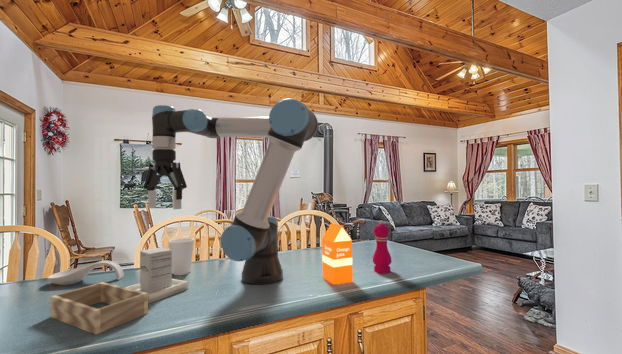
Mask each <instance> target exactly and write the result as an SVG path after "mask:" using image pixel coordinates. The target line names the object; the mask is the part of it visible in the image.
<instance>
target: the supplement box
mask: <svg viewBox="0 0 622 354" xmlns="http://www.w3.org/2000/svg"><path fill="white" fill-rule="evenodd" d="M139 255H140V256H139V283H140V289H142V290H144V291H146V292H147V293H149V294H151V293H154V292H157V291H160V290H163V289H166V288H168V287H171V286H172V279H173V278H172V277H173V275H172V274H173V271H172V250H169V248H165V247H162V246H161V247H154V248H149V249H143V250H140V251H139Z"/></svg>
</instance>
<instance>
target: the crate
mask: <svg viewBox="0 0 622 354" xmlns="http://www.w3.org/2000/svg"><path fill="white" fill-rule="evenodd" d="M99 303H103V304H107V305H105V306H101V307H99V308H96V307H94V306H92V305H95V304H99ZM49 304H50V309H49V310H50V312H49V313H50V315H49V316H50V318H52V319H55V320H56V321H60V322H62V323H65V324H68V325H69V326H73V327H74V328H78V329H80V330H83V331H85V332H87V333H90V334H92V333H93V335H98V334H101V333H103V332H106V331H109V330H110V329H113V328H115V327H118V326H120V325H123V324H125V323H128V322H130V321H132V320H135V319H138V318H140V317H142V316H145V315H147V314H148V313H149V303H148V293H145V292H141V291H137V290H133V289H129V288H125V287H124V286H121V285H116V284H113V283H108V282H103V281H101V282H99V283H95V284H90V285H87V286H83V287H80V288H76V289H72V290H69V291H65V292H62V293H58V294H53V295H50V303H49Z"/></svg>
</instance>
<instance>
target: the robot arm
mask: <svg viewBox="0 0 622 354" xmlns="http://www.w3.org/2000/svg"><path fill="white" fill-rule="evenodd" d="M151 115H152V116H151V123H152V136H151V137H152V139H151V140H152V141H151V142H152V144H151V145H152V160H153V161H154V163H149V164H148V171H147V175H146V177H145V181H144V184H143V189H144V190H146V191H147V208H148V209H157V188H156V187H157V186H158V184H159V182H160V180H161V178H162V177H164V176H165V177H167V178H168V180H169V181H170V183H171V185H172V186H173V189H172V193H173V194H172V196H173V198H172V199H173V201H172V203H173V204H172V208H173V210H181V209H182V199H183V190H184V189H187V187H188V185H187V183H186V179H185V177H184V175H183V172H182V169H181V168H182V167H181V162H180V161H176V159H177V157H176V155H177V154H176V153H177V151H176V150H175V149H176V136H177V135H176V133H177V134H178V133H192V134H193V135H199V136H202V137H207V138H209V139H219V138H268V141H269V143H268V146H267V148H266V151H265V154H264V156H263V158H262V161H261V163H260V166H259V168H258V171H257V173H256V176H255V178H254V181H253V184H252V186H251V188H250V190H249V194H248V196H247V199H246V200H245V203H244V206H243V207H242V210H241V211H237V212H236V214H235V216H234V218H233V221H232V223H231V225H229V226H227V227H226V228H225V229H224V230H223V232H222V234H221V236H220V247H221V249H222V251H223V253H224V255H225V256H226V257H227V258H229V259H230V260H232V261H233V262H243V261H245V262H244V264H243V268H242V271H241V281H242V282H244V283H245V284H249V285H267V284H272V283H276V282H279V281H281V280H282V279H283V278H284V275H283V274H284V273H283V271H284V270H283V268H282V264H281V262H280V259H279V254H278V250H279V243H278V242H279V240H278V238H279V237H278V236H279V230H278V227H279V225H278V219H277V217H275V216H271V215H270V214H271V211H272V209H273V206H274V204H275V201H276V199H277V196H278V195H279V192H280V190H281V187H282V184H283V182H284V179H285V177H286V174H287V173H288V169H289V168H290V165H291V162H292V160H293V158H294V155H295V153H296V152H298V151H300V150H302V147H303V145H304V143H305V142H307V141H310V140H311V139H312V138H314V136H316V133H317V131H318V128H319V123H318V118H317V116H316V115H315V113H314V112H313V111H312V110H311V109H309V107H307V105H306V104H305V103H303V102H301V101H299V100H298V99H295V98H291V97H290V98H284V99H282V100H281V99H280V100H279V101H277V102H276V103H275V104H274V105H273V106H272V108H271V109H270V111H269V116H243V117H242V116H241V117H239V116H238V117H236V116H235V117H234V116H233V117H225V116H224V117H210V116H207V114H205V112H204V111H203V110H201V109H193V108H192V109H191V108H190V109H184V110H176V109H175V107H174V106H170V105H164V104H163V105H162V104H160V105H159V104H158V105H155V106H154V107H152V114H151Z"/></svg>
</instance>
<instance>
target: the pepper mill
mask: <svg viewBox="0 0 622 354" xmlns="http://www.w3.org/2000/svg"><path fill="white" fill-rule="evenodd" d="M373 233H374V235H375V241H376V245H375V246H376V248H375V250H374V254H373V256H372V263H373V264H374V266H373V269H374V272H375V273H378V274H389V273H391V266H390V265H391V264H392V262H393V261H392V256H391V254H390V252H389V251H390V250H389V248H388V241H389V236H388V235H389V234H390V228H389V226H387V225H386V224H384V220H379V221H378V224H377V225H375V226H374V228H373Z"/></svg>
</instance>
